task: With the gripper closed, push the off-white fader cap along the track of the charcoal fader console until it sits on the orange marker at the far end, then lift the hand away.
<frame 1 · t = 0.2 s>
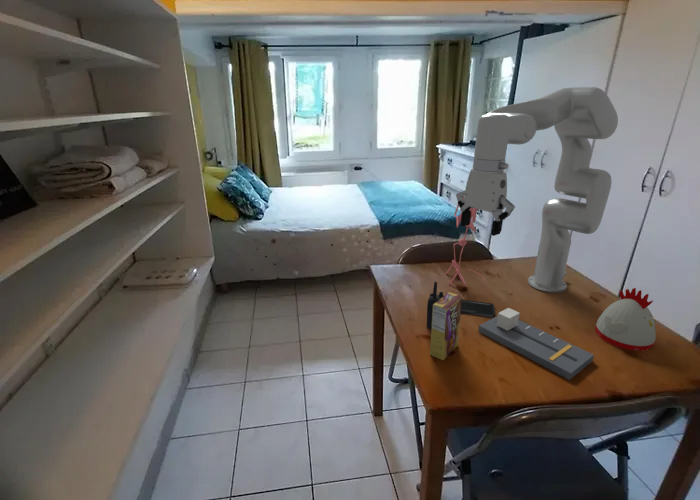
hand: (479, 229, 105), 30 cm above the table, tool pointing down, fingers open, 9 cm apart
candy box: (443, 350, 105), on the table
fader console: (531, 345, 106), on the table
two-way radio: (433, 325, 116), on the table
fader cap: (508, 319, 111), point 4 cm above the table, slide at -8.0 cm
figurine: (466, 280, 145), on the table
phone: (469, 309, 125), on the table
kitchen timer: (623, 337, 110), on the table
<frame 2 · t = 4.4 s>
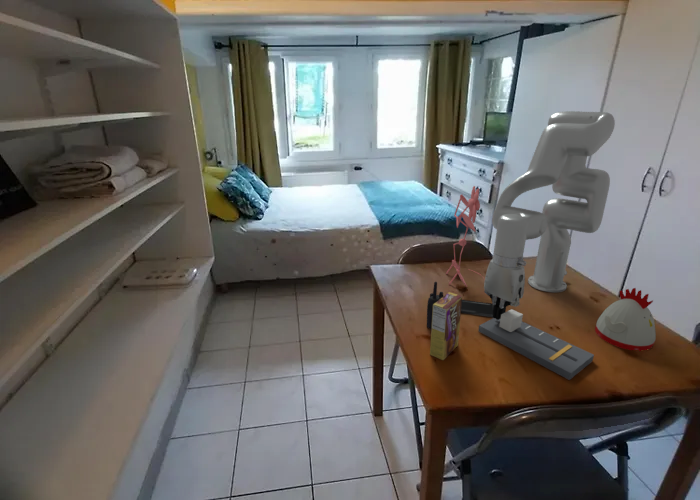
hand: (498, 317, 113), 4 cm above the table, tool pointing down, fingers closed
fader cap: (511, 320, 110), point 4 cm above the table, slide at -7.0 cm, touching gripper
everything else where it was.
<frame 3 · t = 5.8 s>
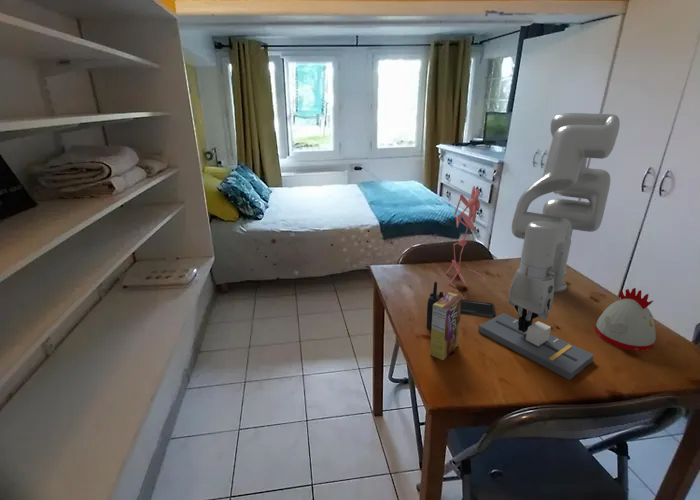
hand: (523, 329, 107), 4 cm above the table, tool pointing down, fingers closed
fader cap: (538, 333, 104), point 4 cm above the table, slide at 1.0 cm, touching gripper
everything else where it was.
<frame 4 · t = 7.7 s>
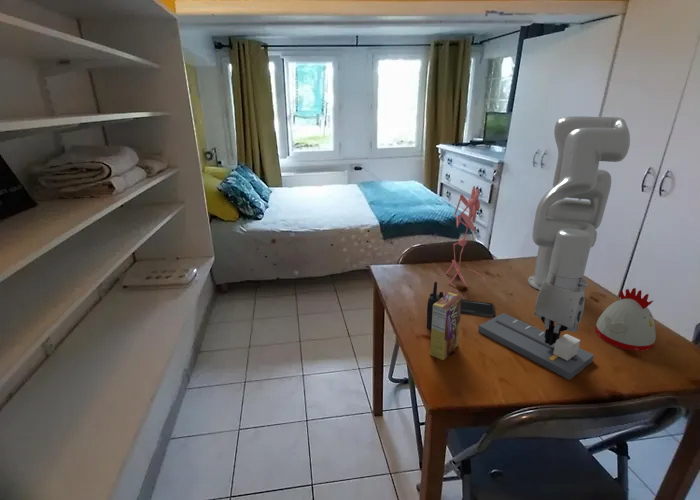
hand: (550, 342, 102), 4 cm above the table, tool pointing down, fingers closed
fader cap: (566, 346, 98), point 4 cm above the table, slide at 8.6 cm, touching gripper
everything else where it was.
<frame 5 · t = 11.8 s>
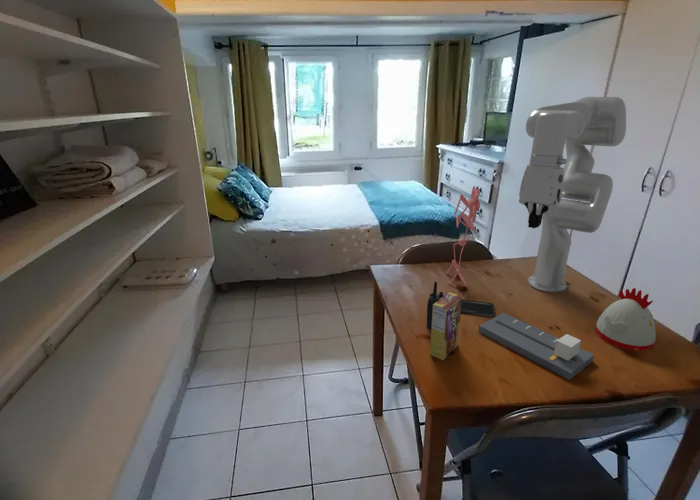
hand: (533, 226, 110), 29 cm above the table, tool pointing down, fingers closed
fader cap: (567, 347, 98), point 4 cm above the table, slide at 8.7 cm
everything else where it was.
at the end: fader cap slide at 8.7 cm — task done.
